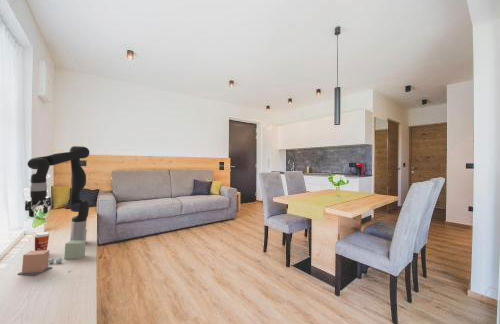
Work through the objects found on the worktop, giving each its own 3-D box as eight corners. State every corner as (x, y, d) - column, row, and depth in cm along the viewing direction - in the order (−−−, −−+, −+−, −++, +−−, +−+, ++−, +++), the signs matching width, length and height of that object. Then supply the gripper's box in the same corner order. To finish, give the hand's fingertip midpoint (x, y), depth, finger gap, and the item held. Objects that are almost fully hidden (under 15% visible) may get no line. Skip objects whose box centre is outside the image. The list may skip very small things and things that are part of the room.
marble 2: (58, 261, 140) (59, 256, 140) (63, 262, 139) (63, 257, 139) (54, 263, 137) (54, 258, 137) (58, 264, 136) (59, 259, 136)
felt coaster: (36, 266, 132) (36, 265, 132) (52, 267, 131) (52, 266, 131) (17, 274, 122) (17, 273, 122) (34, 276, 121) (34, 275, 121)
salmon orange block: (21, 273, 122) (23, 254, 123) (29, 268, 128) (30, 250, 128) (41, 271, 125) (43, 254, 125) (48, 267, 131) (49, 250, 131)
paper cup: (38, 257, 144) (40, 235, 144) (29, 255, 145) (31, 234, 146) (51, 253, 152) (53, 232, 152) (42, 251, 153) (44, 231, 153)
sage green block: (64, 259, 144) (65, 243, 144) (70, 255, 150) (71, 240, 150) (79, 259, 145) (80, 243, 145) (84, 255, 151) (85, 240, 151)
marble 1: (51, 262, 138) (51, 257, 139) (55, 262, 138) (56, 257, 138) (46, 264, 135) (46, 259, 136) (51, 264, 135) (51, 259, 135)
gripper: (32, 191, 133) (32, 218, 133) (54, 188, 147) (54, 212, 147) (20, 191, 133) (20, 217, 134) (44, 187, 147) (44, 212, 148)
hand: (38, 215), depth 141 cm, fingers open, 8 cm apart
